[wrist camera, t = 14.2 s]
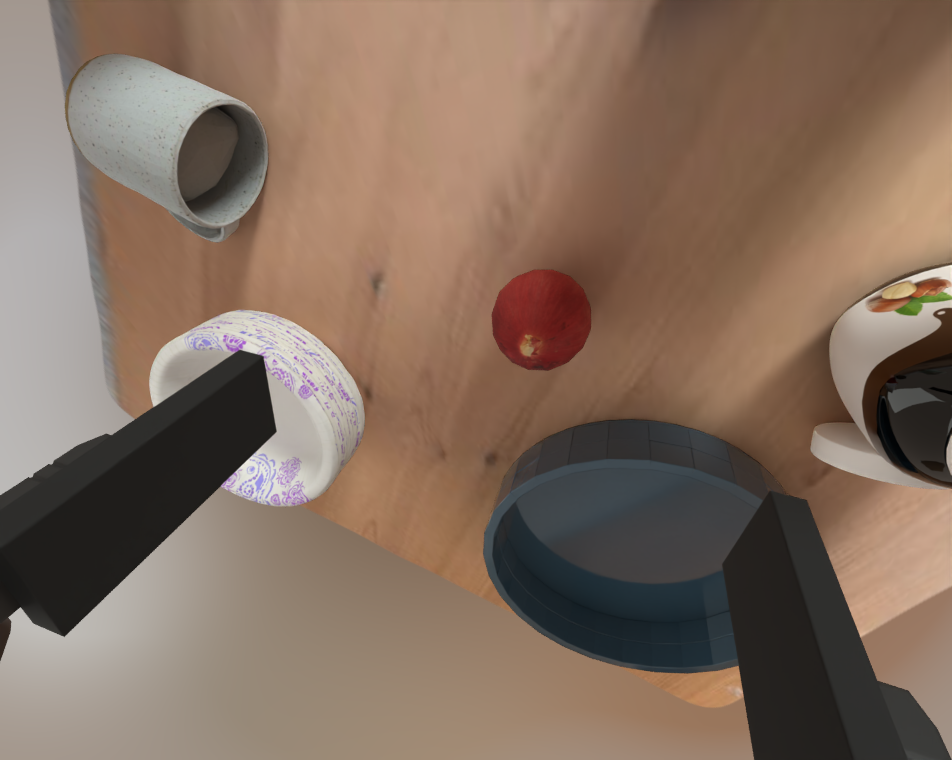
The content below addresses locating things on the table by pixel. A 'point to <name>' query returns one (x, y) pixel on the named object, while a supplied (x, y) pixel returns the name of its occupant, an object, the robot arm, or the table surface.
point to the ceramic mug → (169, 140)
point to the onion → (541, 319)
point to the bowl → (626, 541)
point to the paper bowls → (276, 402)
